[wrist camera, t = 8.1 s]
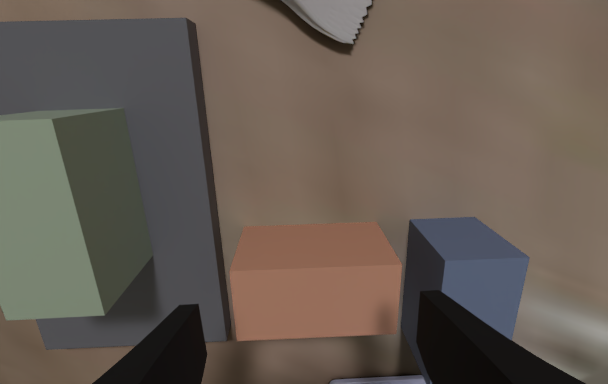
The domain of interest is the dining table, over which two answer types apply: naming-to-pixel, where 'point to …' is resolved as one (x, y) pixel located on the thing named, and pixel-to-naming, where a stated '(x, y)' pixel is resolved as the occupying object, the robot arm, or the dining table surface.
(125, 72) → the tray
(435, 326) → the robot arm
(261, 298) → the terracotta brick
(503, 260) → the navy brick
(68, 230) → the green brick
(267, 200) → the dining table surface
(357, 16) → the food package
